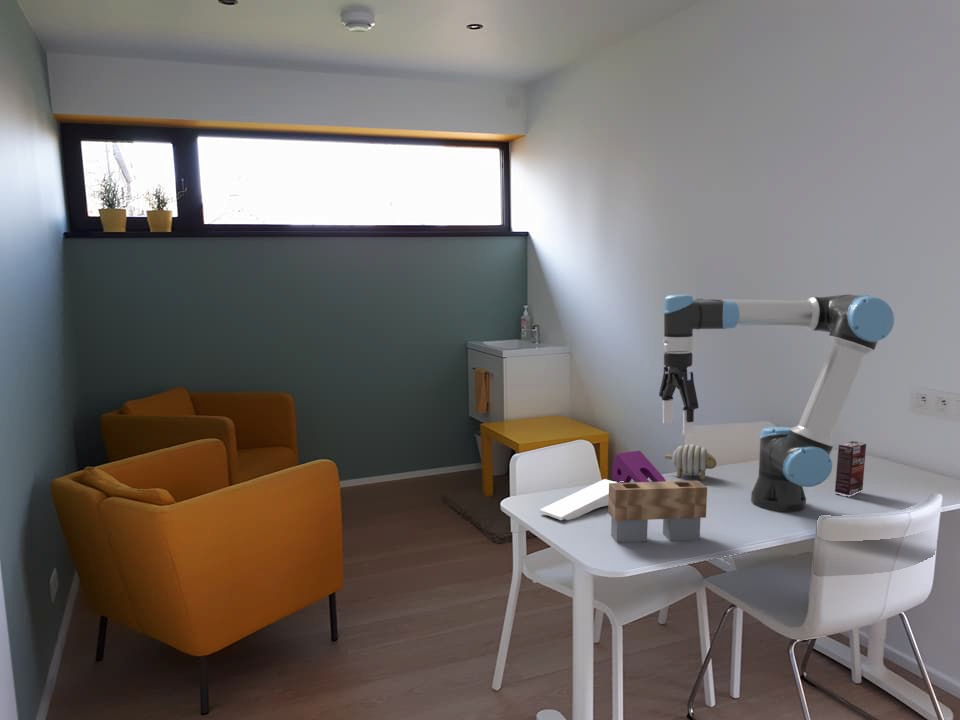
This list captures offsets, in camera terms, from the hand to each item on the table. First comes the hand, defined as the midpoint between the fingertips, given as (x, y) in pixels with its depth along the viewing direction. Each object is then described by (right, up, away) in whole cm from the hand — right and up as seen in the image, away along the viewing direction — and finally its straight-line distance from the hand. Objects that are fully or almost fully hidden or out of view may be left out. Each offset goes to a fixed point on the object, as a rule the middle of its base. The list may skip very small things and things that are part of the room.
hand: (677, 428), depth 199 cm
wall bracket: (-24, -25, +11) cm, 37 cm away
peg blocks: (-9, -27, -11) cm, 31 cm away
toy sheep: (+16, -21, +44) cm, 51 cm away
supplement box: (+60, -23, +26) cm, 70 cm away
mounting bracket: (-3, -22, +34) cm, 40 cm away
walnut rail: (-9, -21, -12) cm, 26 cm away
